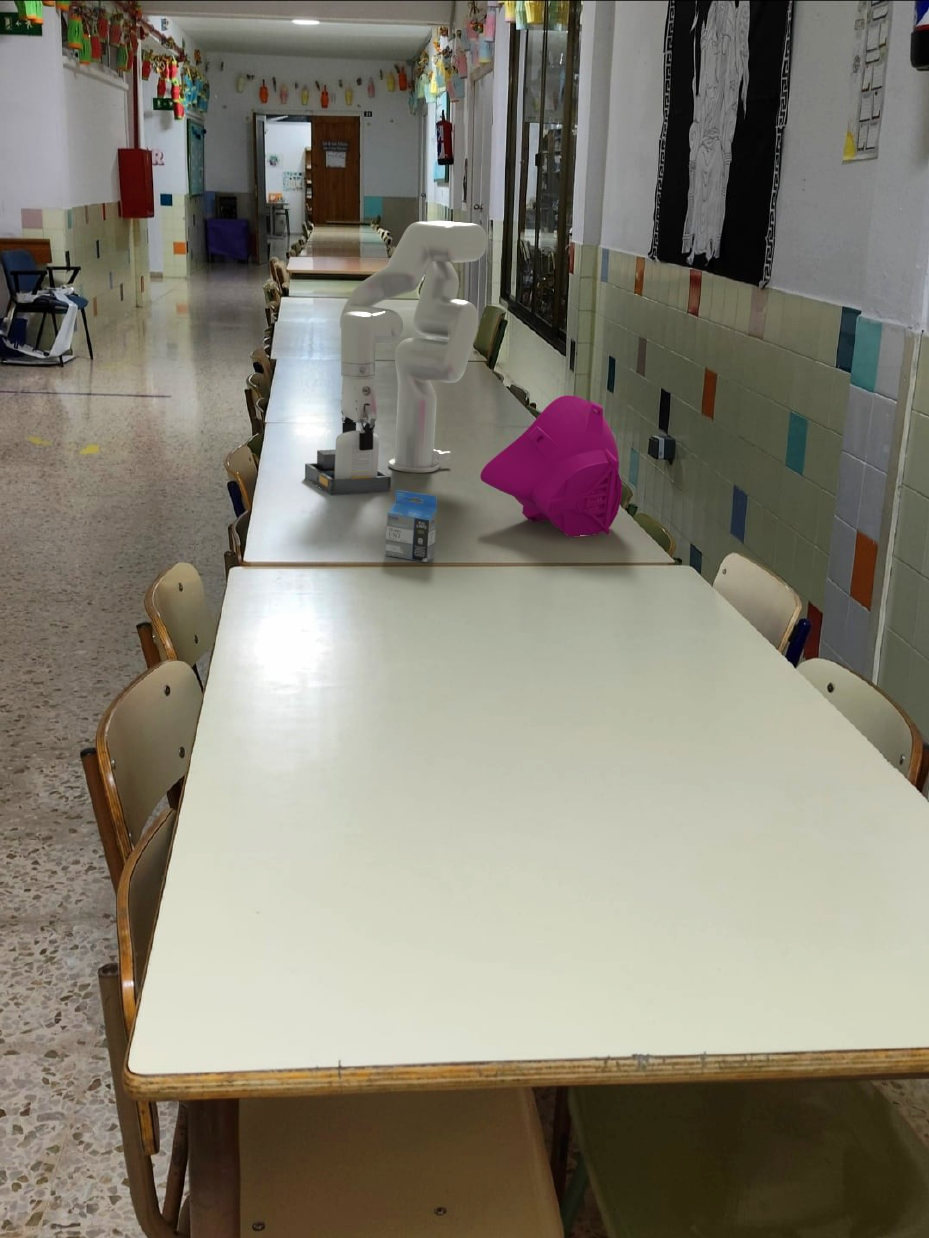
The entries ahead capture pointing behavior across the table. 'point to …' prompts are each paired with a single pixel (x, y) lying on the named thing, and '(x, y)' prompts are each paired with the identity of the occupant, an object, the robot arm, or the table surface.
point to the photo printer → (355, 457)
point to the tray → (325, 475)
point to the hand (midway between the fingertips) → (357, 444)
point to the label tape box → (411, 527)
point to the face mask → (563, 468)
